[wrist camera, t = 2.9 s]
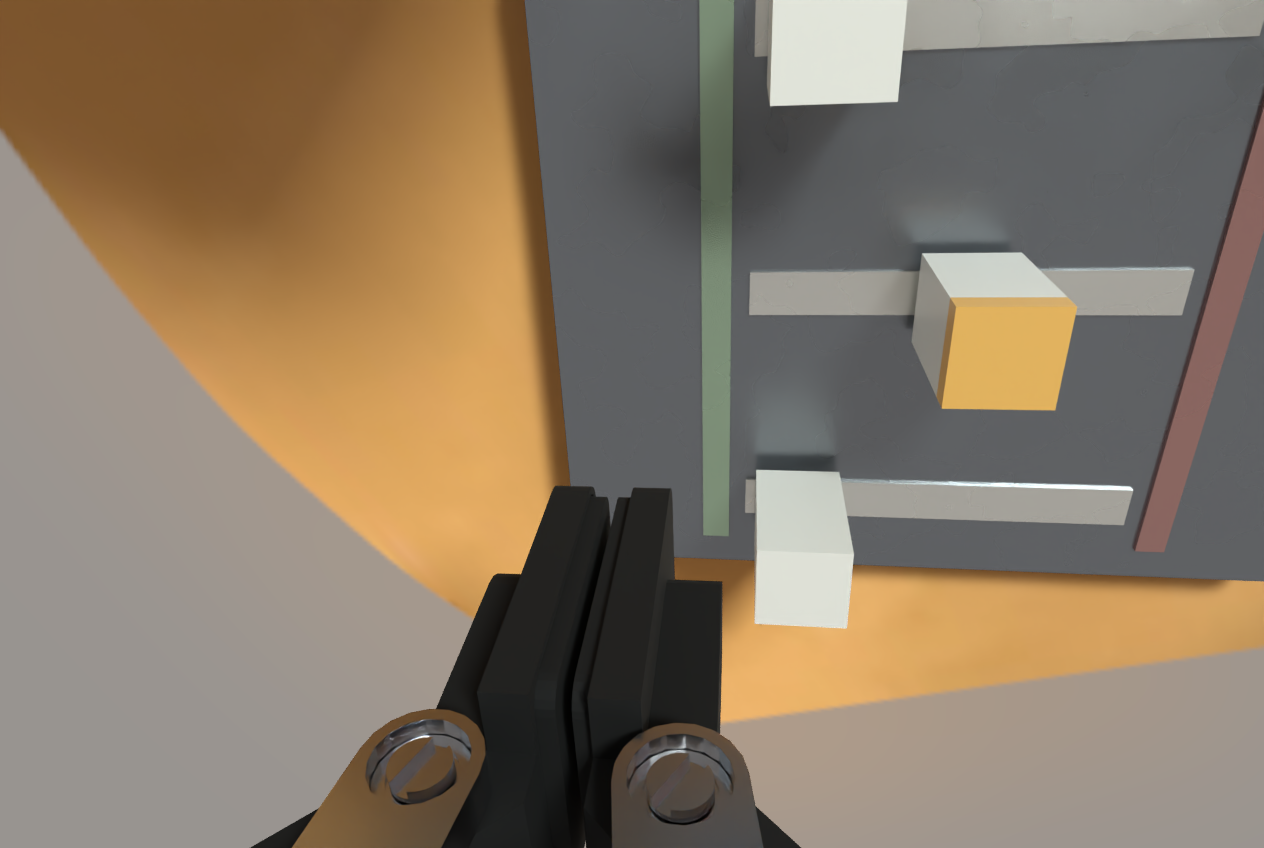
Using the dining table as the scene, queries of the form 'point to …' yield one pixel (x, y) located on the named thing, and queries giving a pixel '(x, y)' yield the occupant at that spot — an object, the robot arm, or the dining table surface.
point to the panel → (915, 276)
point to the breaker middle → (991, 331)
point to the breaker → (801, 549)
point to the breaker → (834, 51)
